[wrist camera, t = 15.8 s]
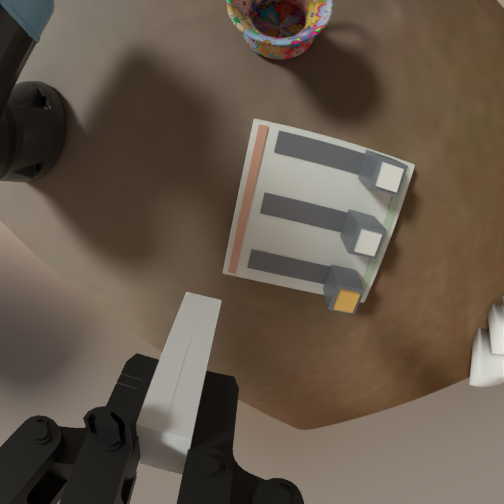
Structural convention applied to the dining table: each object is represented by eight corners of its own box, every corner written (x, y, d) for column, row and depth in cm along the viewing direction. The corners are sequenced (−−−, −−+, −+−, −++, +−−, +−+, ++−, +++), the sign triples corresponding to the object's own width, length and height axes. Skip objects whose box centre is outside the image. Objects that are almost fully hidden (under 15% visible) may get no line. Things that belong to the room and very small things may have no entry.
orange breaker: (322, 288, 42) (328, 312, 37) (331, 264, 40) (338, 286, 35) (347, 293, 42) (354, 317, 37) (356, 270, 40) (365, 292, 35)
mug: (283, 79, 33) (286, 65, 24) (223, 33, 31) (204, 7, 21) (347, 15, 29) (371, -14, 19) (288, -29, 27) (291, -69, 17)
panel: (224, 267, 44) (215, 296, 37) (254, 118, 35) (250, 119, 29) (361, 296, 44) (373, 327, 38) (409, 162, 36) (435, 174, 29)
